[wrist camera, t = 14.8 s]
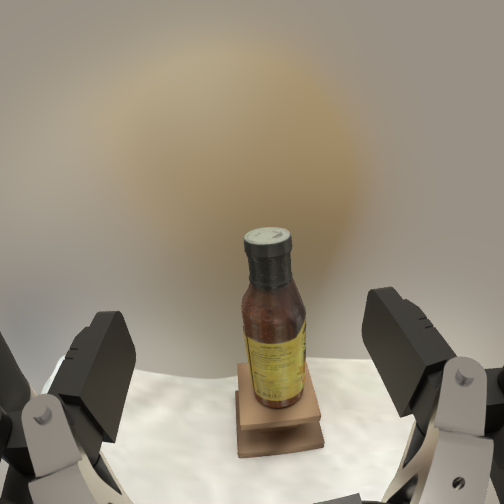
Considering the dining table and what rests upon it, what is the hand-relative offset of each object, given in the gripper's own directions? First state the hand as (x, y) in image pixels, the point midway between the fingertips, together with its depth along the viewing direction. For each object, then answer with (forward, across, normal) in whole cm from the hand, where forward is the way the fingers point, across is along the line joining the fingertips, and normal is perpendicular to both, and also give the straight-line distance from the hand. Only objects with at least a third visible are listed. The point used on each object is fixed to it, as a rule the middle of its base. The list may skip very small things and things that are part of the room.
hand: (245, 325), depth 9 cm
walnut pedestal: (+15, -3, +32) cm, 35 cm away
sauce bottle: (+15, -3, +24) cm, 29 cm away
